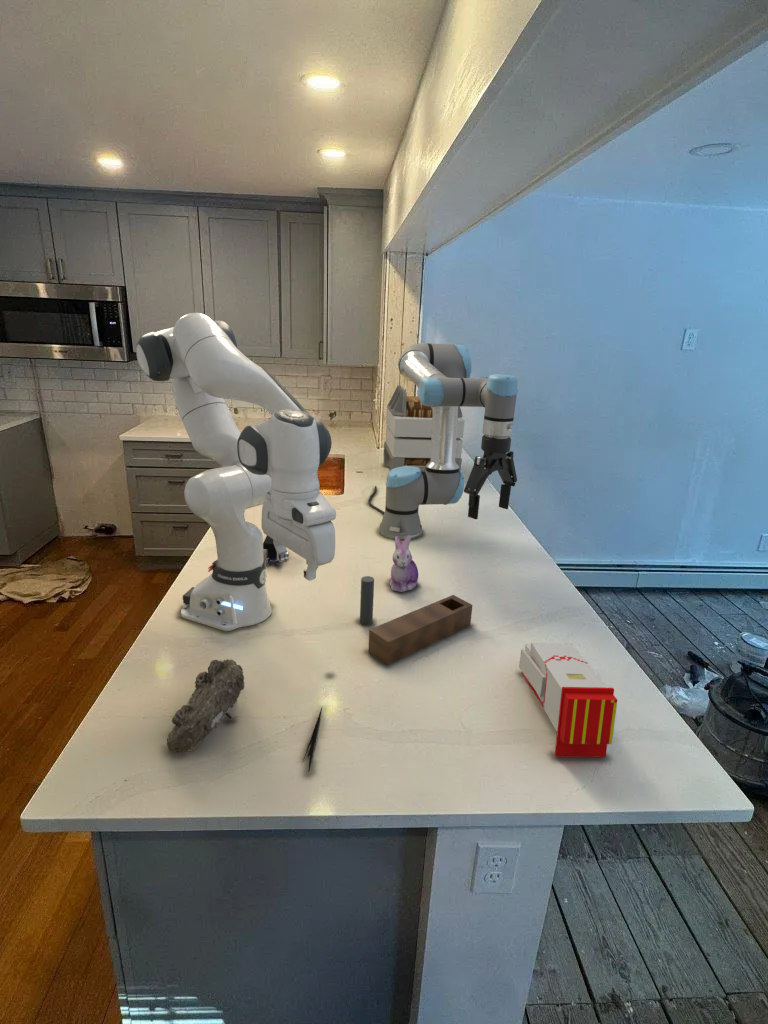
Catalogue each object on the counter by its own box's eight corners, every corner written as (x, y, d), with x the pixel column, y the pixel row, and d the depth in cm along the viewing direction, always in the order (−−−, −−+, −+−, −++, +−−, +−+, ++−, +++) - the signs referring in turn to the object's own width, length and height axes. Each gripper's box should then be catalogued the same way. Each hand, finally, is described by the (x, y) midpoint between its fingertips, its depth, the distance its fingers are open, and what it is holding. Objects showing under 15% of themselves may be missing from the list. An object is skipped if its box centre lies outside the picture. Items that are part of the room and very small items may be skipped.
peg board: (387, 665, 126) (388, 642, 124) (368, 651, 131) (369, 629, 129) (470, 625, 144) (472, 604, 142) (451, 615, 148) (453, 594, 146)
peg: (357, 620, 143) (358, 578, 139) (367, 617, 145) (368, 574, 141) (365, 626, 141) (366, 583, 137) (375, 622, 143) (376, 579, 139)
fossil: (192, 660, 117) (244, 628, 112) (224, 691, 120) (276, 661, 115) (142, 746, 98) (202, 712, 93) (182, 779, 101) (242, 748, 96)
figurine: (397, 596, 156) (400, 546, 151) (380, 580, 165) (382, 532, 160) (426, 589, 160) (430, 541, 155) (408, 575, 169) (411, 528, 164)
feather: (331, 679, 122) (336, 673, 122) (307, 777, 96) (313, 769, 95) (324, 675, 122) (329, 669, 121) (298, 772, 95) (304, 764, 95)
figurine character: (283, 572, 170) (290, 547, 184) (282, 550, 167) (289, 526, 180) (260, 571, 170) (269, 546, 183) (259, 549, 167) (268, 526, 180)
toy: (567, 625, 127) (627, 695, 97) (561, 680, 130) (618, 764, 100) (513, 624, 126) (557, 694, 97) (508, 679, 129) (550, 763, 100)
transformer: (382, 463, 289) (386, 382, 275) (445, 464, 293) (451, 384, 279) (390, 482, 257) (394, 392, 243) (460, 483, 261) (468, 394, 247)
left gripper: (252, 489, 109) (254, 555, 114) (311, 520, 94) (311, 594, 99) (280, 484, 113) (282, 547, 117) (342, 513, 98) (340, 584, 103)
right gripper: (478, 444, 137) (470, 526, 144) (536, 433, 153) (526, 507, 160) (454, 438, 142) (447, 518, 149) (512, 428, 158) (504, 500, 165)
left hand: (296, 569), depth 108 cm, fingers open, 8 cm apart
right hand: (488, 512), depth 154 cm, fingers open, 13 cm apart
